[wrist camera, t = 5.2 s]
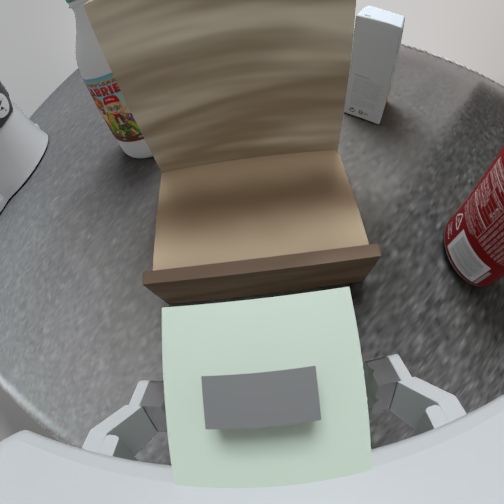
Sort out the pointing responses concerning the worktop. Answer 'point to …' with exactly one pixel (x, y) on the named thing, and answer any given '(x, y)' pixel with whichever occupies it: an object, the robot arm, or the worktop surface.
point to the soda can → (479, 230)
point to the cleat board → (241, 141)
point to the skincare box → (373, 62)
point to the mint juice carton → (265, 391)
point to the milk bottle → (105, 86)
